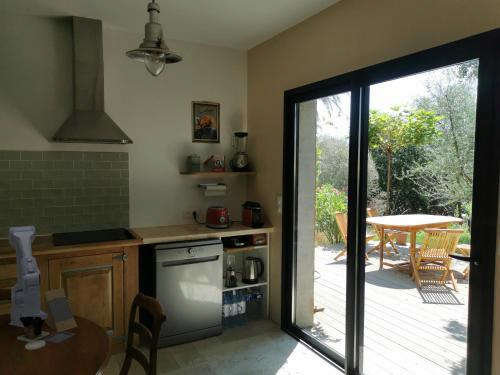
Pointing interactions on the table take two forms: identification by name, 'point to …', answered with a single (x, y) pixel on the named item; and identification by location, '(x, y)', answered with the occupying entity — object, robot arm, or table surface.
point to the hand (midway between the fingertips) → (33, 333)
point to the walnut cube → (30, 332)
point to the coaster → (35, 345)
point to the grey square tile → (58, 337)
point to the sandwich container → (58, 310)
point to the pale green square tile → (33, 339)
